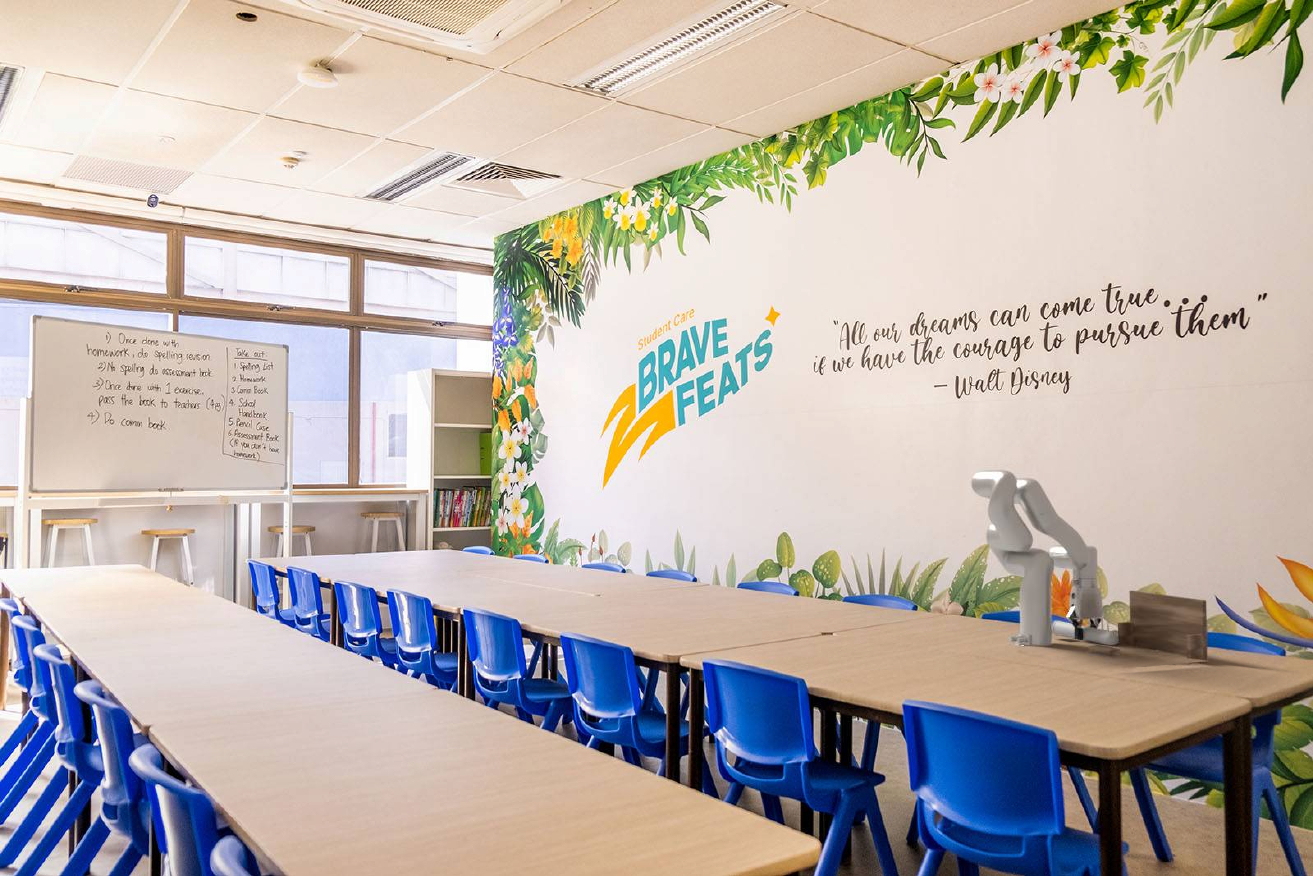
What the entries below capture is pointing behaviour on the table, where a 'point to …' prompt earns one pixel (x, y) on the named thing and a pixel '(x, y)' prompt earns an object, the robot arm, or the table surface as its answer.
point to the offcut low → (1106, 656)
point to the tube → (1085, 633)
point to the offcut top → (1104, 650)
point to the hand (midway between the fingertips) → (1085, 638)
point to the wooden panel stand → (1166, 624)
